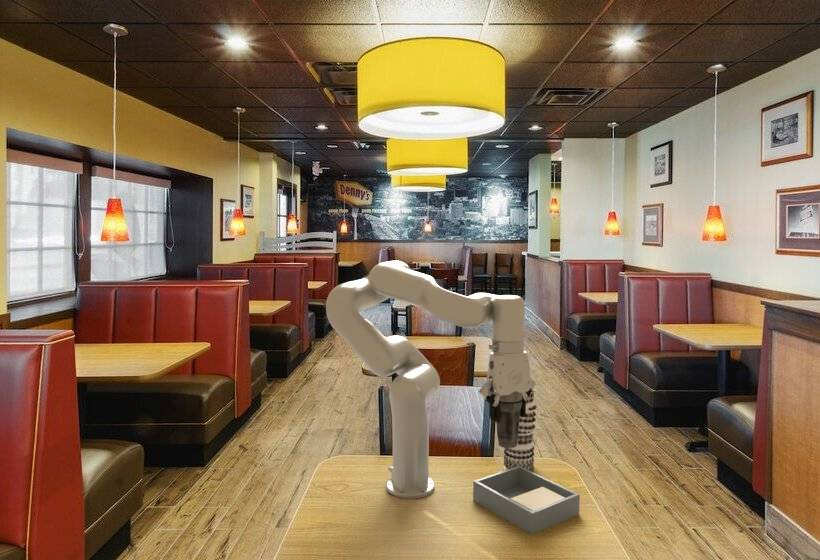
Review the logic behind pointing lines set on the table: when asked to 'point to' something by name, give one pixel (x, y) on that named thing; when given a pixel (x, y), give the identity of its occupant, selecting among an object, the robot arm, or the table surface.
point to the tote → (518, 481)
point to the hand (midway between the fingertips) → (507, 417)
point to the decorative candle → (523, 440)
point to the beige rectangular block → (537, 498)
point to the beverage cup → (509, 419)
